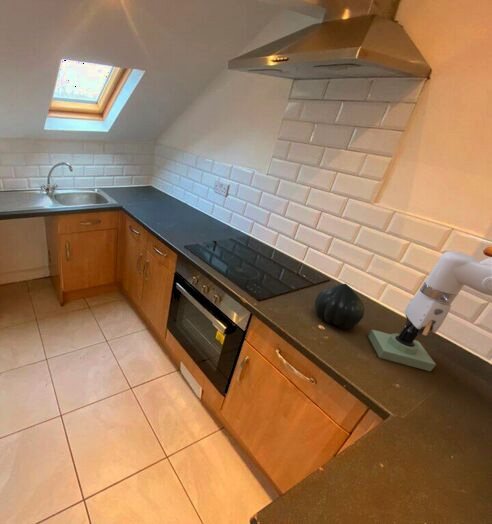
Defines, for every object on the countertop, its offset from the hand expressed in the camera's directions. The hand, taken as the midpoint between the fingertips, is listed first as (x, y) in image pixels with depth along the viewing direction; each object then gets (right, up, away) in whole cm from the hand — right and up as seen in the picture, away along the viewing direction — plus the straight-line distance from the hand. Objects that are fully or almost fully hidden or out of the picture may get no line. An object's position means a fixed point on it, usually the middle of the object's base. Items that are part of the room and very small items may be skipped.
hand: (404, 340), depth 96 cm
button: (0, -2, +1) cm, 2 cm away
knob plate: (0, -5, +2) cm, 5 cm away
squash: (-14, +3, +15) cm, 21 cm away
